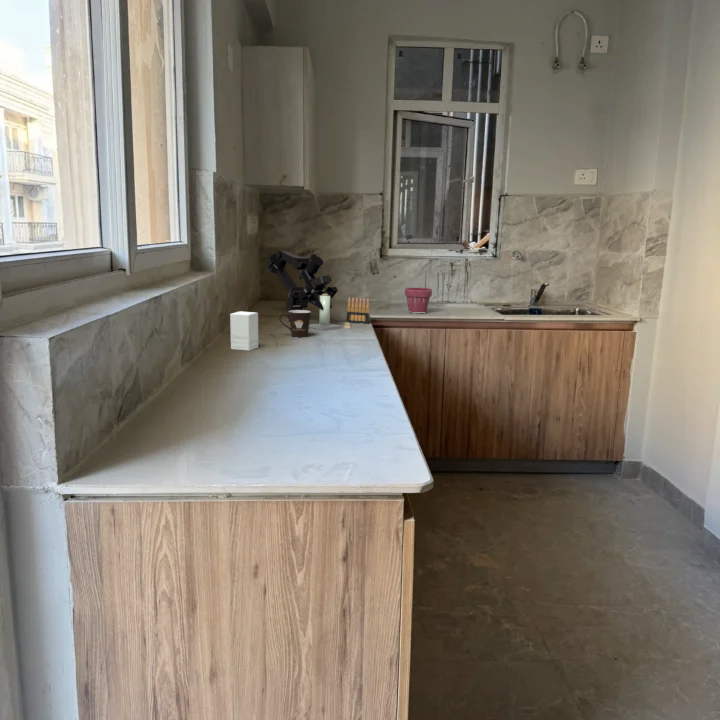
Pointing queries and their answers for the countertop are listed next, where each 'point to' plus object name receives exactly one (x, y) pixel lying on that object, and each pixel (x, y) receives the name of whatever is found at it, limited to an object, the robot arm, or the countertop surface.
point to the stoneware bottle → (325, 309)
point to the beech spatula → (347, 325)
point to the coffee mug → (298, 322)
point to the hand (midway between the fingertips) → (326, 308)
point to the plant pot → (418, 298)
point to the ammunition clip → (358, 311)
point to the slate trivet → (324, 326)
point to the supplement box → (244, 330)
